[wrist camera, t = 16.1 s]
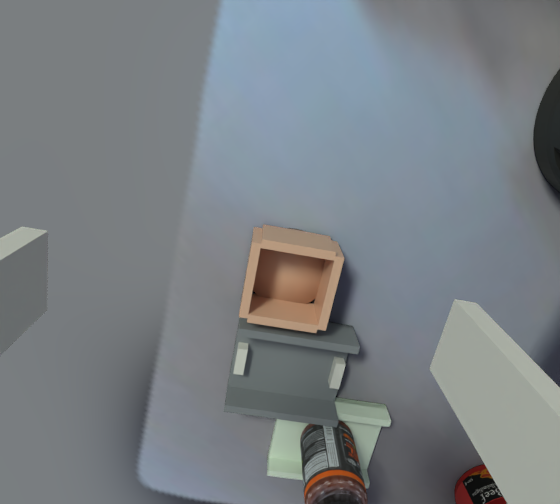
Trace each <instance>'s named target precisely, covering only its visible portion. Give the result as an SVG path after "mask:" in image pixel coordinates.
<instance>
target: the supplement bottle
mask: <svg viewBox="0 0 560 504" xmlns="http://www.w3.org/2000/svg"><path fill="white" fill-rule="evenodd" d="M338 421H339V422H338V425H337V427H330V426H323V425H316V424H308V425H307V426H306V427H305V428H304V430H303V431H302V434H301V438H300V448H301V461H302V474H303V486H304V497H305V504H367V502H368V500H367V493H366V488H365V483H364V479H363V476H362V471H361V467H360V463H359V459H358V454H357V450H356V445H355V442H354V438H353V435H352V432H351V430H350V428H349V427H348V426H347V425H346V424H345V423H343V422H342V421H340V420H338Z"/></svg>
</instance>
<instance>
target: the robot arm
mask: <svg viewBox="0 0 560 504" xmlns="http://www.w3.org/2000/svg"><path fill="white" fill-rule="evenodd" d="M534 146H535V153H536V157H537V161H538V164H539V167H540V169H541V171H542V173H543V174H544V176H545V178H546V179H547V180H548V182H549V183H550V184H551V185H552V186H553V187H554V188H555V189H556V190H558V191H559V192H560V70H559V71H558V72H557V74H556V75H555V76H554V78H553V79H552V81H551V83H550V84H549V86H548V88H547V90H546V92H545V94H544V96H543V98H542V101H541V103H540V106H539V109H538V113H537V116H536V121H535V129H534ZM47 268H48V231H45V230H39V229H33V228H27V227H21V228H19V229H17V230H15V231H13V232H11V233H9V234H8V235H6V236H4V237H2V238H0V355H1V354H2V353H3V352H4V351H6V350H7V349H8V348H9V347H10V346H11V345H12V344H13V343H14V342H15V341H16V340H17V339H18V338H19V337H20V336H21V335H22V334H23V333H24V332H25V331H26V330H27V329H28V328H29V327H30V326H31V325H32V324H33V323H34V322H35V321H37V320H38V319H39V318H40V317H41V316H42V315H43V314H44V313H45V312H46V311H47V271H48V269H47ZM430 370H431V372H432V374H433V376H434V377H435V379H436V381H437V383H438V384H439V386H440V388H441V390H442V391H443V393H444V395H445V396H446V398H447V400H448V402H449V403H450V405H451V407H452V409H453V410H454V412H455V414H456V416H457V417H458V419H459V421H460V422H461V424H462V426H463V428H464V429H465V431H466V433H467V435H468V436H469V438H470V440H471V442H472V443H473V445H474V447H475V448H476V450H477V452H478V454H479V455H480V457H481V459H482V461H483V462H484V464H485V466H486V467H487V469H488V471H489V473H490V474H491V476H492V478H493V480H494V481H495V483H496V485H497V487H498V488H499V490H500V492H501V493H502V495H503V497H504V499H505V500H506V502H507V504H560V387H559V386H558V385H557V384H556V383H555V382H554V381H553V380H552V379H551V378H550V377H549V376H548V375H547V374H546V373H545V372H544V371H543V370H542V369H541V368H540V367H539V366H538V365H537V364H536V363H535V362H534V361H533V360H532V359H531V358H530V357H529V356H528V355H527V354H526V353H525V352H524V351H523V350H522V349H521V348H520V347H519V346H518V345H517V344H516V343H515V342H514V341H513V340H512V339H511V338H510V337H509V336H508V335H507V334H506V333H505V332H504V331H503V329H502V328H501V327H500V326H499V325H498V324H497V323H496V322H495V321H494V320H493V319H492V318H491V317H490V316H489V315H488V314H487V313H486V312H485V311H484V310H483V309H482V308H481V307H480V306H479V305H478V304H477V303H474V302H468V301H462V300H456V299H454V302H453V305H452V308H451V311H450V313H449V316H448V319H447V322H446V324H445V327H444V330H443V333H442V336H441V338H440V341H439V344H438V347H437V349H436V352H435V355H434V358H433V361H432V363H431V366H430Z"/></svg>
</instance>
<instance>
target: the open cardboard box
mask: <svg viewBox="0 0 560 504" xmlns="http://www.w3.org/2000/svg"><path fill="white" fill-rule="evenodd" d="M343 262H344V256H343V254H342V251H341V249H340V247H339V245H338V242H337V241H332V240H331V238H330V236H326V235H320V234H315V233H309V232H305V231H302V230H298V229H291V228H287V229H286V228H281V227H275V226H269V225H264V224H263V228H257V227H254V229H253V235H252V241H251V246H250V252H249V258H248V263H247V269H246V274H245V280H244V286H243V291H242V297H241V304H240V311H239V317H241V318H247V322H248V323H254V324H260V325H267V326H273V327H279V328H286V329H292V330H299V331H305V332H311V333H316V332H317V330H324V331H326V328H327V324H328V320H329V316H330V312H331V309H332V305H333V301H334V297H335V293H336V289H337V285H338V281H339V277H340V274H341V270H342V266H343ZM253 291H254V292H255V293H256V294H252V292H253ZM314 299H315V300H314ZM313 300H314V304H313V303H309V302H311V301H313Z"/></svg>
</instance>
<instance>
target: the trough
mask: <svg viewBox="0 0 560 504" xmlns="http://www.w3.org/2000/svg"><path fill="white" fill-rule="evenodd" d="M335 406H336V411H337V416H338V420H340V421H342V422H343V423H345V424H346V425H347V426H348V427H349V428H350V430H351V432H352V435H353V438H354V442H355V445H356V450H357V454H358V459H359V463H360V467H361V471H362V476H363V479H364V483H365V488H369V485H370V481H369V477H368V473H367V468H368V465H369V462H370V459H371V456H372V453H373V450H374V447H375V444H376V441H377V438H378V435H379V432H380V429H381V426H385V427H389V426H390V424H391V419H390V416H389V413H388V411H387V408H386V405H385V404H378V403H371V402H364V401H358V400H351V399H344V398H337V397H336V398H335ZM308 424H309V423H301V422H294V421H287V420H280V419H276V422H275V426H274V431H273V435H272V439H271V444H270V448H269V452H268V457H267V476H274V477H282V478H290V479H298V480H303V474H302V461H301V448H300V438H301V434H302V431H303V430H304V428H305V427H306V426H307V425H308Z"/></svg>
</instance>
